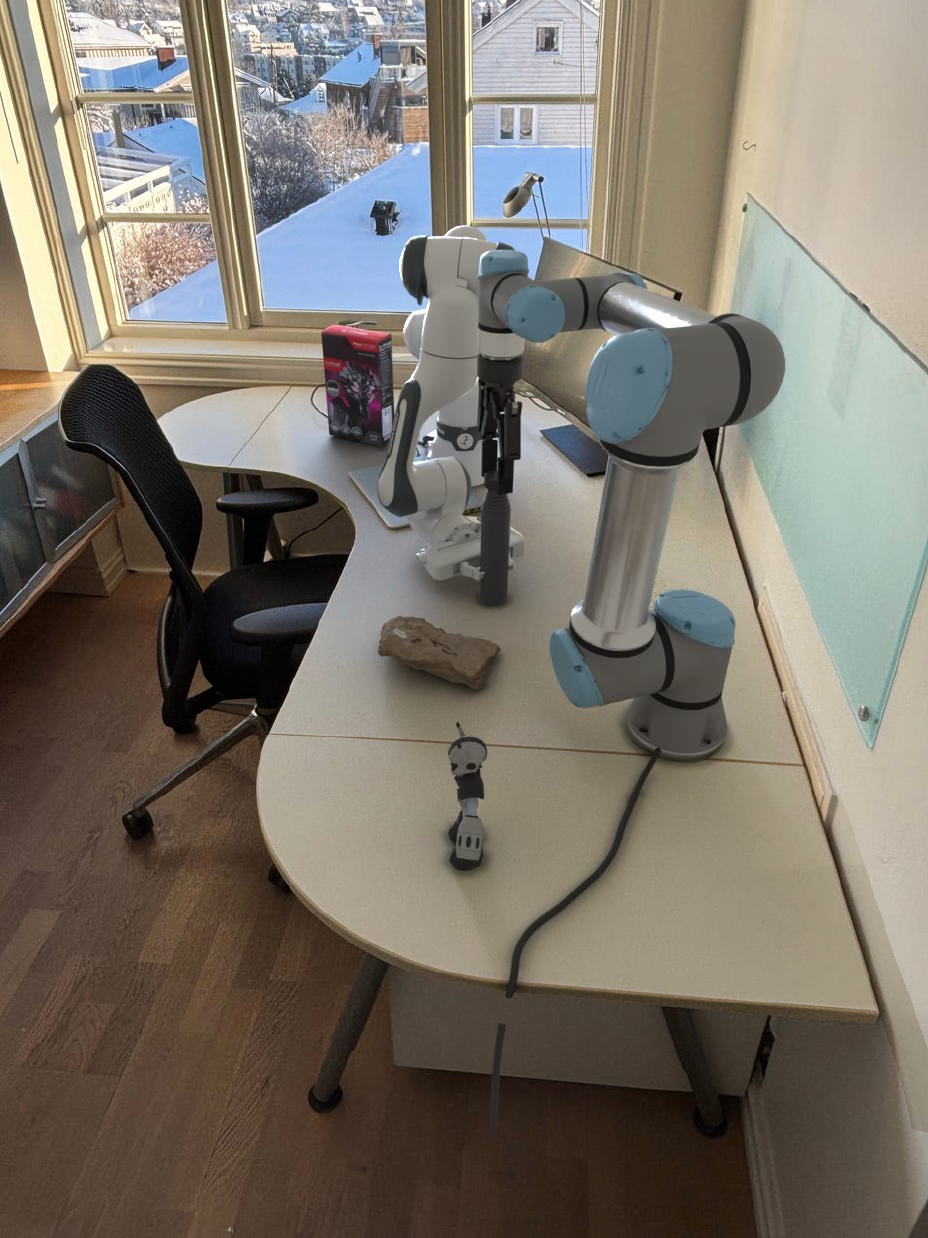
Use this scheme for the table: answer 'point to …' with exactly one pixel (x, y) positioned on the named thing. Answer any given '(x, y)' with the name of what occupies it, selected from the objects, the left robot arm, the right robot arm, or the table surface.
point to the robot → (467, 799)
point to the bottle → (494, 548)
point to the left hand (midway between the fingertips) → (497, 571)
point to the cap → (490, 480)
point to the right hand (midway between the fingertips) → (496, 483)
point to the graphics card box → (359, 384)
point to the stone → (438, 651)
